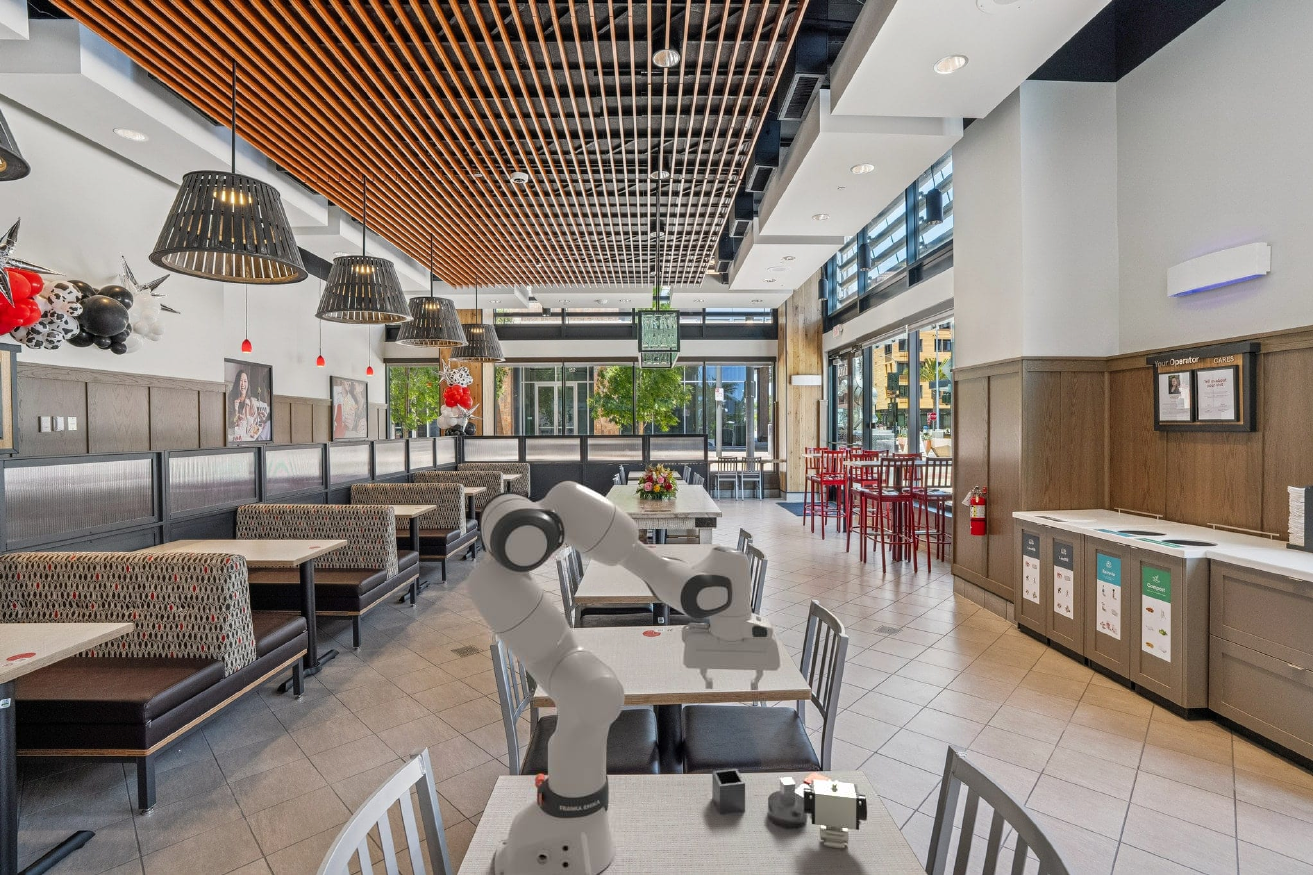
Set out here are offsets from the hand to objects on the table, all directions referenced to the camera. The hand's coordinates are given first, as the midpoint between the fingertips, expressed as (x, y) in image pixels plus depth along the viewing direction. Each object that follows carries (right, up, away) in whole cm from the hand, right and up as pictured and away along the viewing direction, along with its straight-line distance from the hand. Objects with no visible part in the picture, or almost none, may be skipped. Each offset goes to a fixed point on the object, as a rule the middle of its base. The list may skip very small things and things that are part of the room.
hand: (731, 688), depth 129 cm
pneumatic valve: (+19, -27, -8) cm, 34 cm away
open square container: (0, -27, +3) cm, 27 cm away
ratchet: (+15, -27, +3) cm, 31 cm away
